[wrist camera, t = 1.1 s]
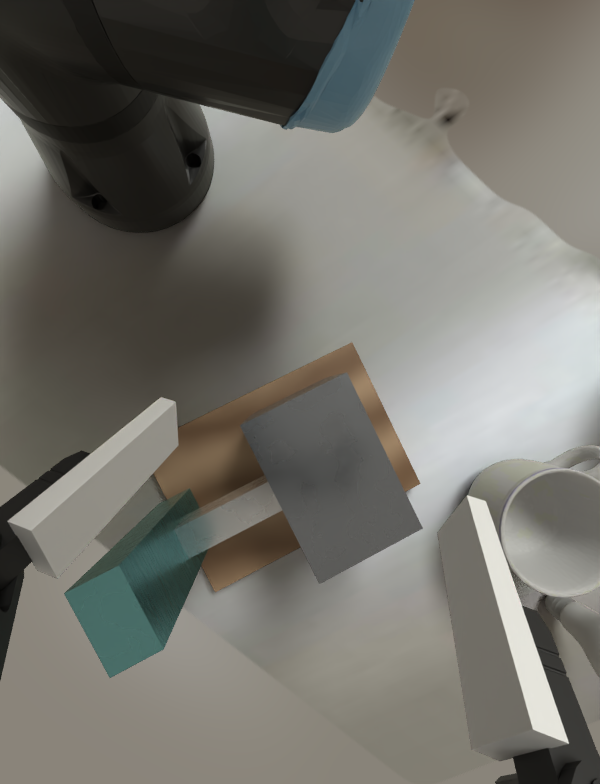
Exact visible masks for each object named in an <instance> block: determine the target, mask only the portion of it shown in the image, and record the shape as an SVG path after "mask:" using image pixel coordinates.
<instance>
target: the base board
mask: <svg viewBox="0 0 600 784" xmlns="http://www.w3.org/2000/svg"><path fill="white" fill-rule="evenodd" d="M346 372H347V373H348V375H349V378H350V380H351V382H352V384H353V386H354V388H355V390H356V392H357V394H358V396H359V398H360V400H361V402H362V404H363V406H364V408H365V411H366V413H367V415H368V417H369V419H370V421H371V423H372V425H373V427H374V429H375V431H376V433H377V435H378V437H379V439H380V441H381V444H382V446H383V448H384V450H385V452H386V454H387V456H388V458H389V460H390V462H391V464H392V466H393V468H394V470H395V472H396V474H397V477H398V479H399V481H400V483H401V485H402V487H403V489H404V491H405V492H406V491H408V490H409V489H411V488H413V487H415V486H417V485H419V484H420V482H419V480H418V478H417V476H416V474H415V472H414V470H413V467H412V465H411V463H410V461H409V459H408V457H407V455H406V453H405V451H404V449H403V447H402V445H401V443H400V440H399V438H398V436H397V434H396V432H395V430H394V428H393V426H392V424H391V422H390V420H389V418H388V416H387V414H386V411H385V409H384V407H383V405H382V403H381V401H380V399H379V397H378V395H377V393H376V391H375V389H374V387H373V384H372V382H371V380H370V378H369V376H368V374H367V372H366V370H365V368H364V366H363V364H362V362H361V360H360V358H359V355H358V353H357V351H356V349H355V347H354V345H353V343H350V344H348V345H346V346H344V347H342V348H340V349H338V350H335V351H333V352H331V353H329V354H327V355H325V356H323V357H321V358H319V359H317V360H315V361H313V362H311V363H309V364H307V365H305V366H303V367H301V368H299V369H297V370H295V371H293V372H291V373H289V374H287V375H284V376H282V377H280V378H278V379H276V380H274V381H272V382H270V383H268V384H266V385H264V386H262V387H260V388H258V389H256V390H254V391H252V392H250V393H248V394H246V395H244V396H242V397H240V398H238V399H236V400H233V401H231V402H229V403H227V404H225V405H223V406H221V407H219V408H217V409H215V410H213V411H211V412H209V413H207V414H205V415H203V416H201V417H199V418H197V419H195V420H193V421H191V422H189V423H187V424H185V425H182V426H180V427H178V446H177V448H176V449H175V450H174V451H173V452H172V453H171V454H170V455H169V456H168V457H167V459H166V460H165V461H164V462H163V463H162V464H161V465H160V466H159V467H158V469H157V470H156V471H155V472H154V473H153V474H154V476H155V477H156V479H157V481H158V483H159V485H160V487H161V489H162V491H163V493H164V495H165V497H166V499H169V498H171V497H173V496H175V495H177V494H179V493H181V492H183V491H185V490H187V489H189V488H190V490H191V492H192V494H193V496H194V498H195V500H196V501H197V503H198V505H199V507H200V508H201V507H203V506H205V505H207V504H209V503H211V502H213V501H215V500H217V499H219V498H221V497H223V496H225V495H227V494H228V493H230V492H232V491H234V490H236V489H238V488H240V487H242V486H244V485H246V484H248V483H250V482H252V481H254V480H256V479H258V478H260V477H262V476H264V473H263V471H262V469H261V467H260V465H259V463H258V461H257V459H256V457H255V455H254V453H253V451H252V449H251V447H250V445H249V443H248V441H247V439H246V437H245V435H244V433H243V431H242V429H241V427H240V425H241V424H242V423H243V422H244V421H245V420H246V419H248V418H249V417H250V416H251V415H252V414H253V413H255V412H257V411H259V410H261V409H263V408H266V407H268V406H270V405H272V404H274V403H276V402H278V401H280V400H282V399H284V398H286V397H288V396H290V395H292V394H294V393H296V392H298V391H300V390H302V389H304V388H306V387H308V386H310V385H312V384H314V383H316V382H318V381H320V380H322V379H324V378H327V377H331V376H334V375H338V374H342V373H346ZM300 547H301V546H300V544H299V542H298V540H297V538H296V536H295V534H294V532H293V530H292V528H291V526H290V524H289V522H288V520H287V518H286V516H285V514H284V512H283V510H282V511H280V512H278V513H276V514H274V515H272V516H270V517H268V518H266V519H265V520H263V521H261V522H259V523H257V524H255V525H253V526H251V527H249V528H247V529H245V530H243V531H241V532H240V533H238V534H236V535H234V536H232V537H230V538H228V539H226V540H224V541H222V542H220V543H218V544H216V545H214V546H213V547H211V548H209V549H208V551H207V553H206V556H205V558H204V560H203V562H202V564H201V566H202V568H203V570H204V572H205V574H206V576H207V578H208V580H209V581H210V583H211V585H212V587H213V589H214V591H215V592H217V591H219V590H221V589H222V588H224V587H226V586H228V585H230V584H232V583H234V582H236V581H238V580H239V579H241V578H243V577H245V576H247V575H249V574H251V573H253V572H255V571H256V570H258V569H260V568H262V567H264V566H266V565H268V564H270V563H272V562H273V561H275V560H277V559H279V558H281V557H283V556H285V555H287V554H289V553H290V552H292V551H294V550H296V549H298V548H300Z"/></svg>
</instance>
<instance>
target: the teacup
mask: <svg viewBox="0 0 600 784" xmlns="http://www.w3.org/2000/svg"><path fill="white" fill-rule="evenodd" d="M591 459H600V447H599V446H594V445H587V446H580V447H577V448H574V449H571V450H568V451H566V452H565V453H563V454H561V455H559V456H558V457H556V458H554V459H553V460H551V461H548V462H544V463H541V462H537V461H532V460H524V459H510V460H504V461H500V462H498V463H495V464H493V465H491V466H489V467H488V468H486V469H485V470H484V471H482V472H481V473H480V474H479V475H478V476H477V478H476V479H475V480H474V482H473V484H472V485H471V488H470V490H469V494H468V496H471V497H474V498H477V499H481V500H484V501H486V503H487V506H488V509H489V512H490V515H491V517H492V520H493V523H494V526H495V529H496V532H497V535H498V538H499V541H500V544H501V547H502V550H503V552H504V555H505V558H506V561H507V564H508V567H509V569H510V570H511V571H512V572H514V574H515V575H516V576H517V577H518V578H519V579H520V580H521V581H522V582H524V583H525V584H526V585H528V586H529V587H531V588H532V589H534V590H536V591H538V592H540V593H542V594H545V595H548V596H553V597H562V598H564V597H567V598H568V597H576V596H580V595H584V594H587V593H589V592H591V591H594V590H595V589H596V588H599V587H600V462H599V464H598V465H597V466H595V467H594V468H592V469H590V470H586V471H578V470H574V469H570V468H571V467H572V466H574V465H576V464H578V463H581V462H583V461H587V460H591Z"/></svg>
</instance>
